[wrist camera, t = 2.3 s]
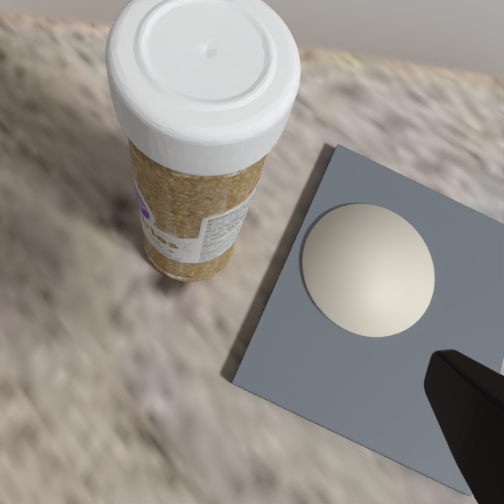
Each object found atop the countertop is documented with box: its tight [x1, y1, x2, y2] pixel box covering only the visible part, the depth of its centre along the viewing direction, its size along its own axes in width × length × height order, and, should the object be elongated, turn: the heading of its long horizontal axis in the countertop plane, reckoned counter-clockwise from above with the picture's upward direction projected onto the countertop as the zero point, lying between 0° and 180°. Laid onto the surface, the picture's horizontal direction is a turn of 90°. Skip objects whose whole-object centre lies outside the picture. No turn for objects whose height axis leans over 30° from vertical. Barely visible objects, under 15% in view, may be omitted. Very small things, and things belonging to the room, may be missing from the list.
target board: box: [231, 144, 504, 496], centre depth 23 cm, size 14×12×1 cm
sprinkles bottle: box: [106, 0, 301, 282], centre depth 17 cm, size 5×5×13 cm
